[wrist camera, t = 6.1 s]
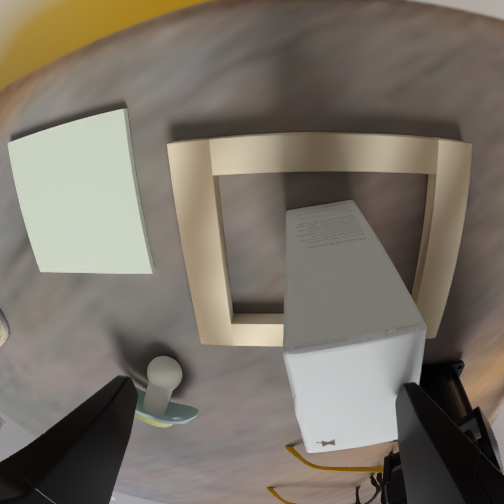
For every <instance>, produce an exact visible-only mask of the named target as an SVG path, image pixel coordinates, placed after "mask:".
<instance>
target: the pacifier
mask: <svg viewBox="0 0 504 504" xmlns="http://www.w3.org/2000/svg"><path fill="white" fill-rule="evenodd" d="M147 377H148V380H149V383H148V386H147V389H146V392H144V391H142V390H140V389H138V388H136V390H137V392H138V401H137V406H136V411H135V415H134V416H135V417H136V418H138V419H139V420H141V421H143V422H145V423H148V424H151V425H154V426H158V427H170V426H171V425H172V424H184V423H187V422H188V421H191V420H192V419H194V418H195V417H196V416H197V415H198V409H196V408H194V407H191V406H187V405H182V404H178V403H173V402H170V398H171V394H172V391H173V389H175V388H176V387H177V386H178V385H179V384H180V382H181V380H182V370H181V367H180V365H179V364H178V363H177V362H176V361H175V360H174V359H172V358H170V357H167V356H159V357H156V358H154V359H153V360H152V361H151V362H150V364H149V365H148V368H147Z"/></svg>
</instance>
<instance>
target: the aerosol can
mask: <svg viewBox="0 0 504 504" xmlns="http://www.w3.org/2000/svg"><path fill="white" fill-rule="evenodd" d="M9 335H10V328H9V325H8V322H7V320H6V318H5V316H4V314H3V312H2V311H1V309H0V347H1V346H2V344H3V343H4V342H5V341H6V340H7V339H8V338H9Z"/></svg>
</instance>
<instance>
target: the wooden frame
mask: <svg viewBox="0 0 504 504" xmlns="http://www.w3.org/2000/svg"><path fill="white" fill-rule="evenodd" d="M167 148H168V156H169V164H170V171H171V179H172V186H173V193H174V199H175V206H176V212H177V219H178V225H179V231H180V237H181V243H182V249H183V254H184V260H185V266H186V271H187V276H188V282H189V287H190V292H191V297H192V302H193V307H194V312H195V317H196V321H197V326H198V331H199V335H200V340H201V344H210V345H236V346H283V329H284V313H282V314H255V313H233V305H232V297H231V289H230V281H229V273H228V264H227V256H226V247H225V238H224V229H223V220H222V211H221V202H220V193H219V183H218V175H228V174H247V173H270V172H310V171H359V172H398V173H420V174H428V186H427V197H426V206H425V215H424V223H423V231H422V238H421V245H420V251H419V257H418V263H417V269H416V274H415V280H414V285H413V290H412V294H411V297H412V299H413V301H414V303H415V304H416V306H417V308H418V310H419V312H420V314H421V316H422V318H423V320H424V322H425V323H426V325H427V332H426V338H425V339H431V338H436V335H437V332H438V328H439V325H440V322H441V319H442V315H443V312H444V309H445V305H446V302H447V298H448V294H449V290H450V287H451V283H452V279H453V274H454V270H455V266H456V261H457V257H458V252H459V247H460V242H461V236H462V231H463V225H464V219H465V212H466V205H467V198H468V190H469V180H470V170H471V157H472V144H471V143H468V142H465V141H460V140H452V139H443V138H434V137H423V136H411V135H397V134H379V133H351V132H295V133H267V134H248V135H234V136H221V137H210V138H200V139H190V140H181V141H174V142H171V143H169V144H167Z"/></svg>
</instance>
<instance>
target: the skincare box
mask: <svg viewBox="0 0 504 504" xmlns="http://www.w3.org/2000/svg"><path fill="white" fill-rule="evenodd" d="M426 332H427V325H426V323H425V322H424V320H423V318H422V316H421V314H420V312H419V310H418V308H417V306H416V304H415V303H414V301H413V299H412V297H411V295H410V293H409V292H408V290H407V288H406V286H405V284H404V282H403V281H402V279H401V277H400V275H399V273H398V272H397V270H396V268H395V267H394V265H393V263H392V261H391V259H390V258H389V256H388V254H387V253H386V251H385V249H384V248H383V246H382V244H381V243H380V241H379V239H378V238H377V236H376V234H375V233H374V231H373V230H372V228H371V227H370V225H369V223H368V222H367V220H366V219H365V217H364V215H363V214H362V212H361V211H360V209H359V208H358V206H357V205H356V203H355V202H354V201H353V200H345V201H340V202H335V203H329V204H323V205H317V206H310V207H304V208H298V209H293V210H288V211H286V250H285V287H284V329H283V357H284V361H285V366H286V370H287V374H288V378H289V382H290V386H291V391H292V395H293V400H294V408H295V414H296V418H297V420H298V422H299V426H300V430H301V434H302V437H303V441H304V445H305V448H306V451H307V452H308V453H316V452H325V451H334V450H341V449H348V448H355V447H362V446H368V445H373V444H379V443H384V442H388V441H393V440H396V439H398V432H397V419H396V408H395V401H396V398H397V395H398V393H399V390H400V388H401V386H402V384H403V383H408V382H415V383H417V384H418V385H419V381H420V375H421V367H422V361H423V354H424V346H425V338H426Z"/></svg>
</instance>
